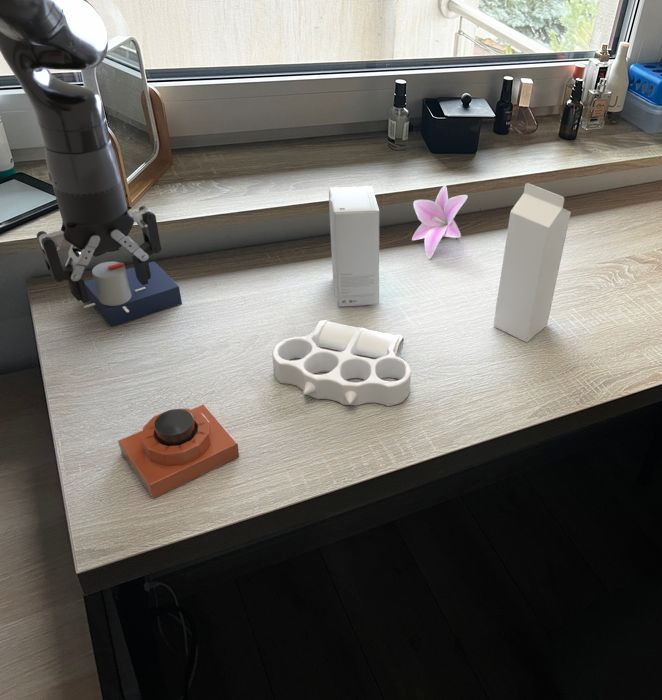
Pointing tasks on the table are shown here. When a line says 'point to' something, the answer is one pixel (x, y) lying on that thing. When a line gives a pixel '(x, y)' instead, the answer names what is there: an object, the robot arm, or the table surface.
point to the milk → (531, 262)
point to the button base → (178, 453)
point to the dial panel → (138, 297)
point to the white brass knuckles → (344, 365)
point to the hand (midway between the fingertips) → (114, 290)
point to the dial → (111, 283)
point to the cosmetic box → (354, 245)
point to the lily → (437, 219)
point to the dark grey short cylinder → (175, 427)
